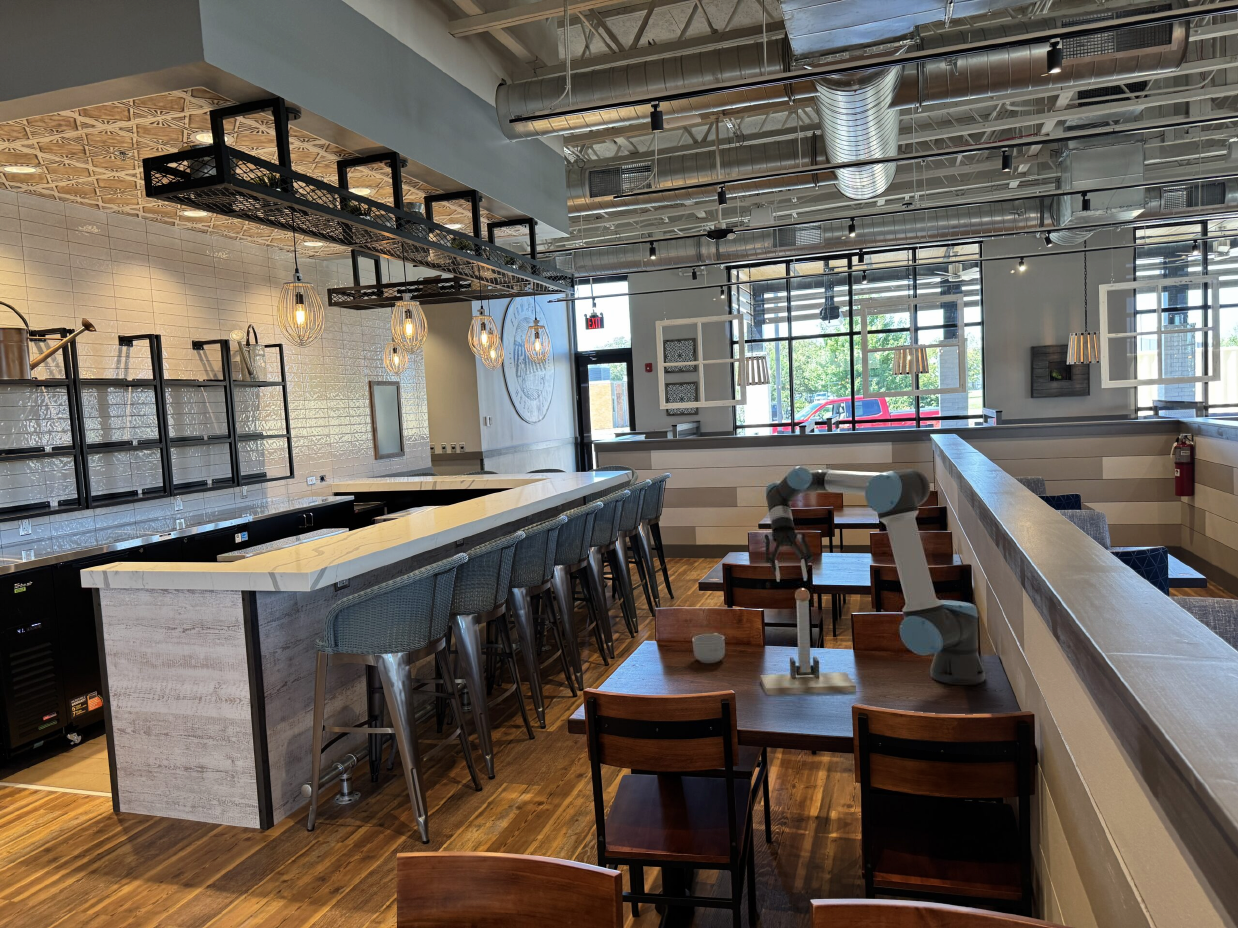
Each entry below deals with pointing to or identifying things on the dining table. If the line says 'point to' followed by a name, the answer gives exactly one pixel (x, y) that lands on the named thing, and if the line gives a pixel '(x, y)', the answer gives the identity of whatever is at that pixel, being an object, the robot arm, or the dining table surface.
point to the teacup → (709, 647)
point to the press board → (807, 682)
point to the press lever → (803, 633)
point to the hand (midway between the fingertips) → (792, 578)
